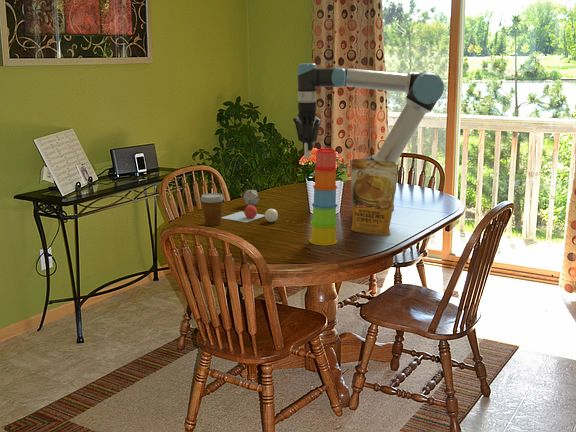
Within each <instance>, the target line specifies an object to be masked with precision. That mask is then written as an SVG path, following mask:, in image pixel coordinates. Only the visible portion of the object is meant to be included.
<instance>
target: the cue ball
mask: <svg viewBox="0 0 576 432" xmlns="http://www.w3.org/2000/svg"><path fill="white" fill-rule="evenodd" d="M264 215H265V216H264V218H265V220H266V221H267V222H269V223H274V222H276V221H277V220H278V217H279V213H278V211H277V210H276V209H275V208H269V209H267V210H266V211H265V212H264Z"/></svg>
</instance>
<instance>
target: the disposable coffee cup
mask: <svg viewBox="0 0 576 432" xmlns="http://www.w3.org/2000/svg"><path fill="white" fill-rule="evenodd" d="M224 199H225V198H224V196H223V194H222V193H218V192H216V193H215V192H214V193H209V192H208V193H204V194H203V193H202V194H201V197H200V202H201V205H202V210H203V216H204V217H203V218H204V224H205V225H206V226H208V225H211V226H210V227H212V225H216V226H220V225H222V218H221V217H223V216H222V215H223V206H224V205H223V204H224Z"/></svg>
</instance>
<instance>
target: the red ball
mask: <svg viewBox="0 0 576 432" xmlns="http://www.w3.org/2000/svg"><path fill="white" fill-rule="evenodd" d="M243 212H244V214H245V216H246V217H247V218H254V217H255V216H256V215H257V214H258V209H257V207H256V206H252V205H249V206H246V207H244V211H243Z"/></svg>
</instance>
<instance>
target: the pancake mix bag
mask: <svg viewBox="0 0 576 432" xmlns="http://www.w3.org/2000/svg"><path fill="white" fill-rule="evenodd" d="M349 165H350V187H351V188H350V192H351V193H350V194H351V204H352V205H351V209H352V222H351V223H352V224H351V230H352V231H354V232H356V233H361V234H367V235H374V236H381V237H382V236H383V237H384V236H390V235H391V229H390V226H391V221H392V215H393V211H392V209H393V203H395V195H396V192H397V182H398V175H399V164H397V163H396V164H395V162H389V161H376V160H365V158H364V159H363V158H359V159H358V158H353V159H351V160H349Z"/></svg>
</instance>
